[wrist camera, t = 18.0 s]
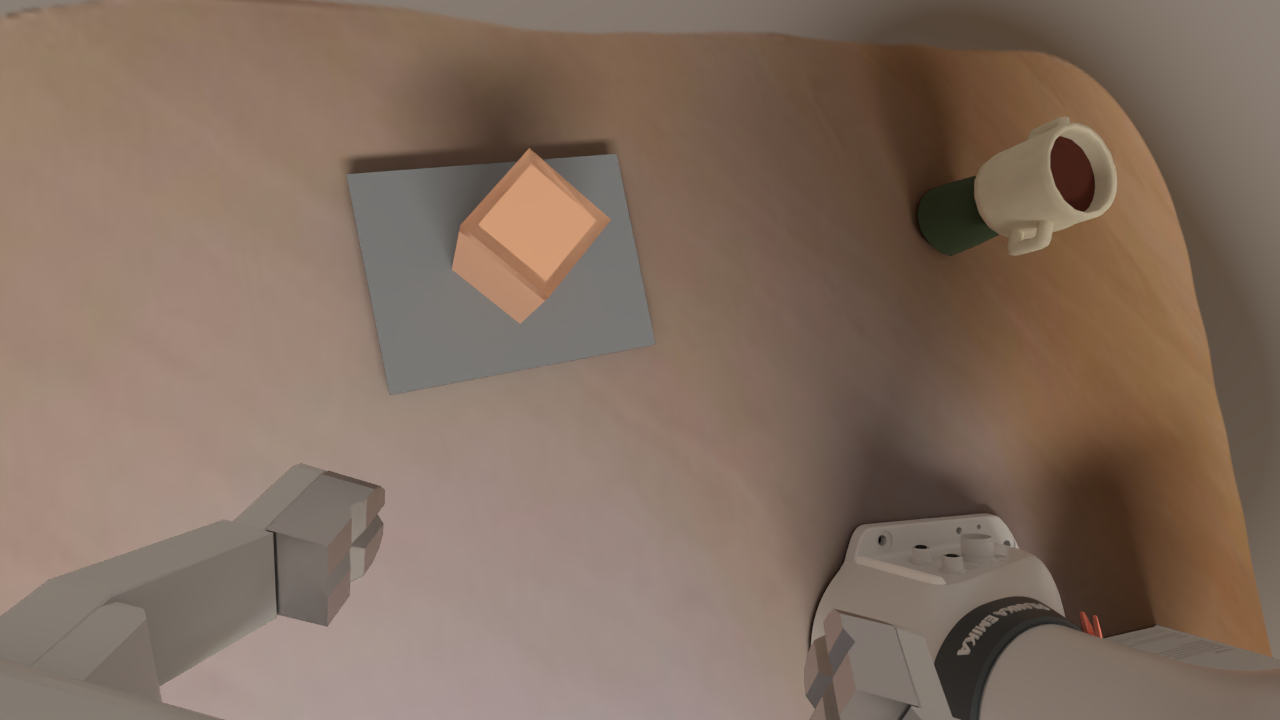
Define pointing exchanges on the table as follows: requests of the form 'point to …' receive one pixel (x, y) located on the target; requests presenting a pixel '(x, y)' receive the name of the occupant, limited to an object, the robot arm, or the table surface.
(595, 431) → the table surface
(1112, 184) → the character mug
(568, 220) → the tall lidded tan box
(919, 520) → the robot arm
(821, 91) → the table surface
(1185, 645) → the supplement box
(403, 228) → the base
